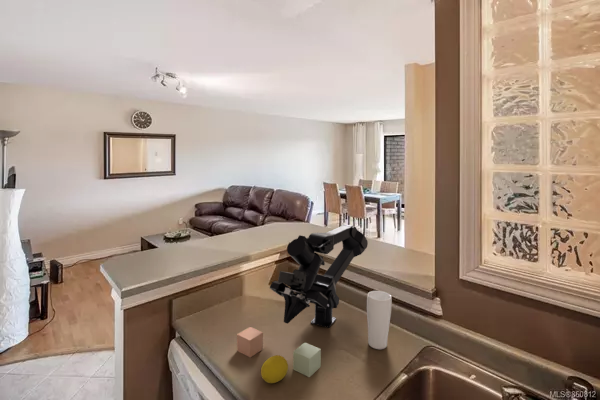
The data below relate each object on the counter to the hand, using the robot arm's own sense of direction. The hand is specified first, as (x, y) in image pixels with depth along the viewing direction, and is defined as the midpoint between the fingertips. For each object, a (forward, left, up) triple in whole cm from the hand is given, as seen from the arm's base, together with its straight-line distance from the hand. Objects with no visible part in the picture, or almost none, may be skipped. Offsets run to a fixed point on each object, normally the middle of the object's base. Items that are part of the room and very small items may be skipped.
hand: (285, 322), depth 88 cm
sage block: (+4, +9, -8) cm, 13 cm away
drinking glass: (-15, +22, -8) cm, 28 cm away
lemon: (+8, +5, -5) cm, 10 cm away
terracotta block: (+4, -9, -8) cm, 13 cm away
